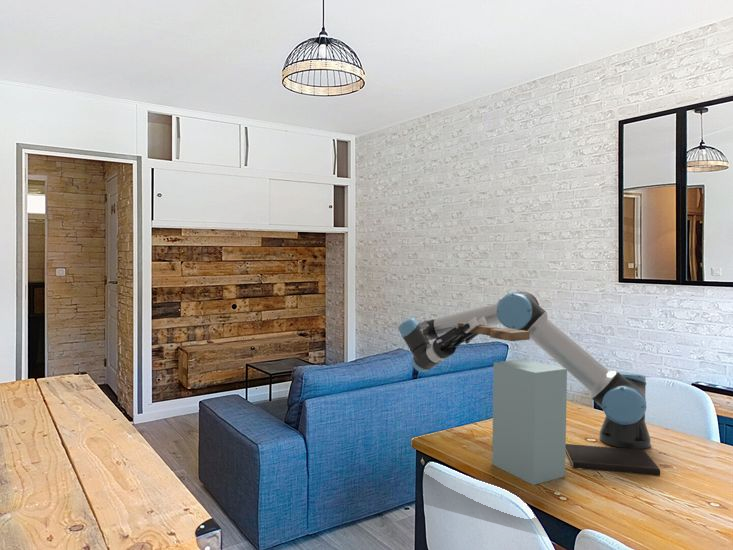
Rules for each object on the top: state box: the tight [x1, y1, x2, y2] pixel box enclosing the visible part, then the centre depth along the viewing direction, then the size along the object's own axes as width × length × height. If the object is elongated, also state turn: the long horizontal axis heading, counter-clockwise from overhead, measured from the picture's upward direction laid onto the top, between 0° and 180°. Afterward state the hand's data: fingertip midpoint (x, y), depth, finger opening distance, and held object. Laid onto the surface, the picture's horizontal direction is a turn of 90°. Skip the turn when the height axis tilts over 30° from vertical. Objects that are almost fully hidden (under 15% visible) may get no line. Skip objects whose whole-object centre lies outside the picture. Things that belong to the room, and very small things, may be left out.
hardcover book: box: [565, 443, 661, 477], centre depth 158 cm, size 16×23×2 cm
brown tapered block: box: [458, 323, 531, 342], centre depth 165 cm, size 27×7×2 cm, turn 29°
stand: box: [491, 358, 568, 486], centre depth 151 cm, size 16×12×30 cm
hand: (480, 320), depth 168 cm, fingers closed on brown tapered block, 3 cm apart
